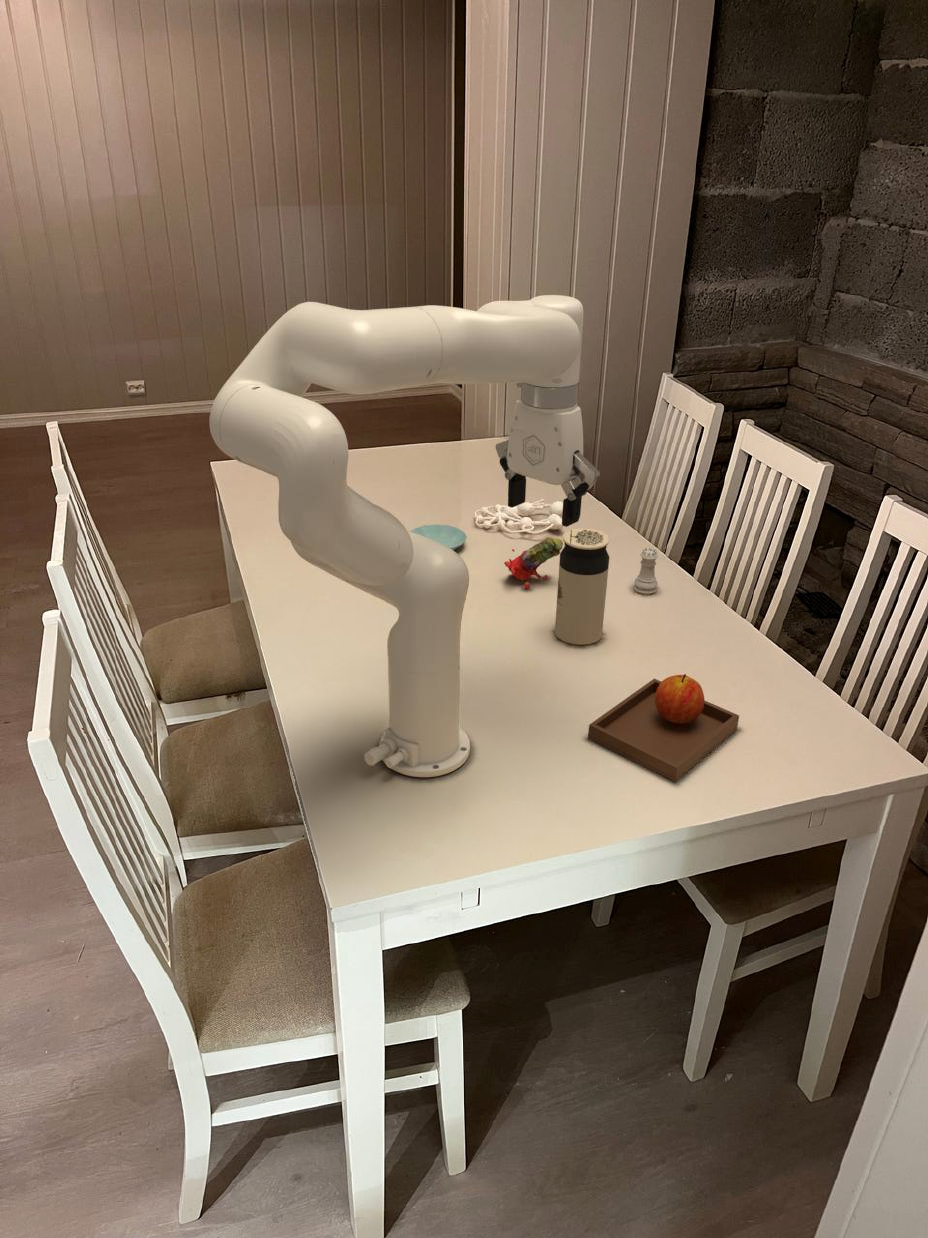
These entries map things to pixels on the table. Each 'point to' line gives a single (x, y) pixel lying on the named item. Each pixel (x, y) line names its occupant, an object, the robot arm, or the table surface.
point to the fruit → (679, 699)
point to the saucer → (442, 534)
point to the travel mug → (582, 586)
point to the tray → (661, 733)
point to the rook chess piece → (647, 573)
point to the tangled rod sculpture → (524, 523)
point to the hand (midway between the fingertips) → (542, 514)
